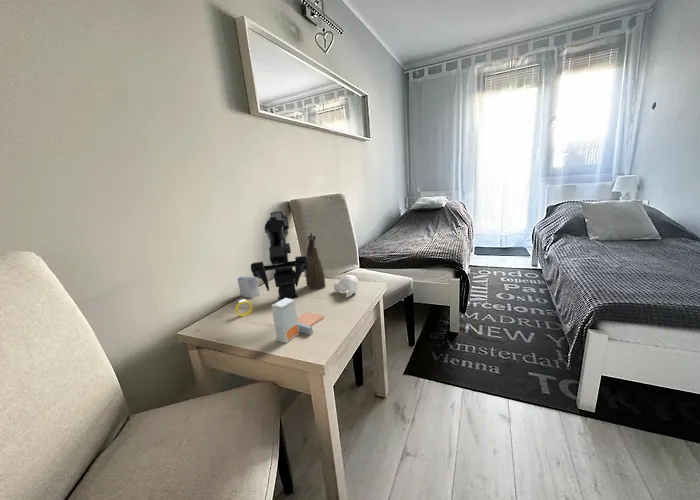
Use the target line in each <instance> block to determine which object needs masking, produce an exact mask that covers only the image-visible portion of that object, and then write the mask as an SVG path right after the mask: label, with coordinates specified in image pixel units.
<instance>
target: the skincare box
mask: <svg viewBox="0 0 700 500" xmlns="http://www.w3.org/2000/svg"><path fill="white" fill-rule="evenodd" d="M271 310H272V317H273V318H272V319H273V323H274V330H275V337H276V341H279V342H281V343H283V344H284V343H285V344H288V343H289V342H290V341H291V340H293V339H294V338H296V337H297V336H299V335H300V332H299V329H298V321H297V318H298V315H297V308H296V301H295V299H288V298H284V299H282V300H280V299H279V300H278V301H277V302H275V303H272V304H271Z"/></svg>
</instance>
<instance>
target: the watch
mask: <svg viewBox="0 0 700 500" xmlns="http://www.w3.org/2000/svg"><path fill="white" fill-rule="evenodd" d="M245 303H248V304H249V310H248V311H247V312H245V313H242V314H241V313H240V312H239V307H240V306H241V305H243V304H245ZM252 311H253V304H252V303H251V302H250V301H249V300H247V299H245V298H243V299H240V300H238V303H237V304H236V307H235V312H236V314H237V315H238V316H240V317H244V316H248V315H250V314H251V313H252Z"/></svg>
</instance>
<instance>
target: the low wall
mask: <svg viewBox="0 0 700 500" xmlns="http://www.w3.org/2000/svg"><path fill="white" fill-rule="evenodd" d="M298 329H299V333H302V334H304V335H306V336H307V335H308V336H312V335H313V334H314V332H313V326H308V325H305V324H302V323H299V322H298Z"/></svg>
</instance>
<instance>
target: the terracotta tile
mask: <svg viewBox="0 0 700 500" xmlns="http://www.w3.org/2000/svg"><path fill="white" fill-rule="evenodd" d="M324 319H325V316H323V315H320V314H316V313H312V312H310V311H307V312H305V313H304V314H302V315H300V316H297V321H298V322H299V323H302V324H305V325H308V326H311V327H313V326H314V325H316V324H317V323H319V322H320V321H322V320H324Z"/></svg>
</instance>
